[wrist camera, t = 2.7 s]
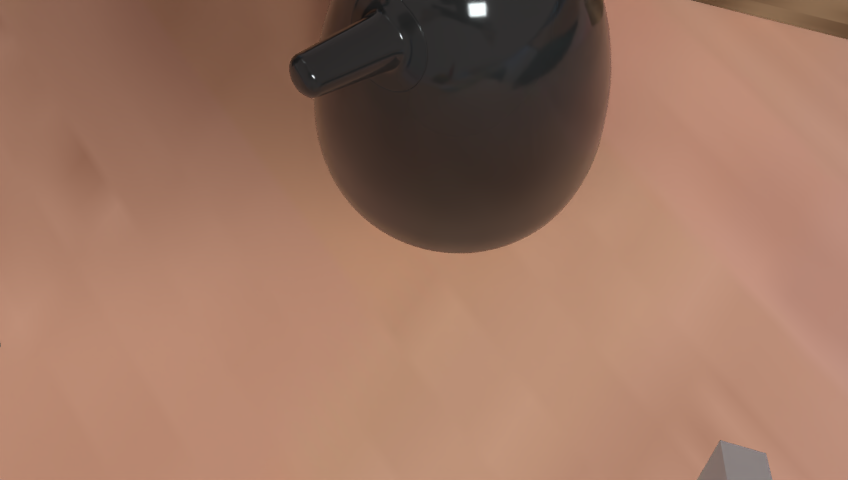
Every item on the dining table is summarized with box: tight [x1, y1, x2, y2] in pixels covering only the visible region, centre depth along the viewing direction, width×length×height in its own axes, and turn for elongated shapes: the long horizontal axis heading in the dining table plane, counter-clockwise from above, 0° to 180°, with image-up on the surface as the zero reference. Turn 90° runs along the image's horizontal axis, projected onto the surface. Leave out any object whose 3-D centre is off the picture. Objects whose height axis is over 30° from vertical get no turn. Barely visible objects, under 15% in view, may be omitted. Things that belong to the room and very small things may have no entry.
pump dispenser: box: [289, 0, 611, 253], centre depth 25 cm, size 10×10×15 cm
